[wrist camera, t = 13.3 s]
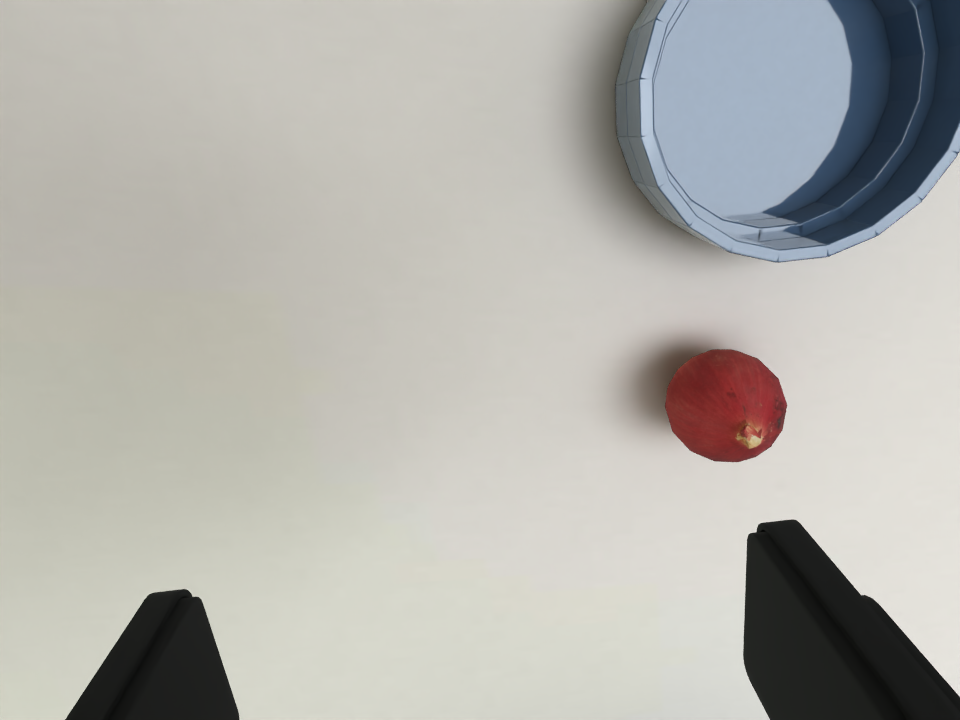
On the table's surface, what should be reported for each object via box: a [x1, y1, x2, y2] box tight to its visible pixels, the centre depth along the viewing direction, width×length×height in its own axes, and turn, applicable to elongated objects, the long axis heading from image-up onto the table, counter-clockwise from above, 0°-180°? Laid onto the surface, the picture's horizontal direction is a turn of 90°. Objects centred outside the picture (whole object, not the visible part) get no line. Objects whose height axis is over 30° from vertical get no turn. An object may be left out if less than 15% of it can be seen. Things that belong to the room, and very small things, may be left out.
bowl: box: [615, 0, 960, 262], centre depth 30 cm, size 15×15×5 cm
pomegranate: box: [665, 350, 787, 462], centre depth 34 cm, size 6×6×8 cm
